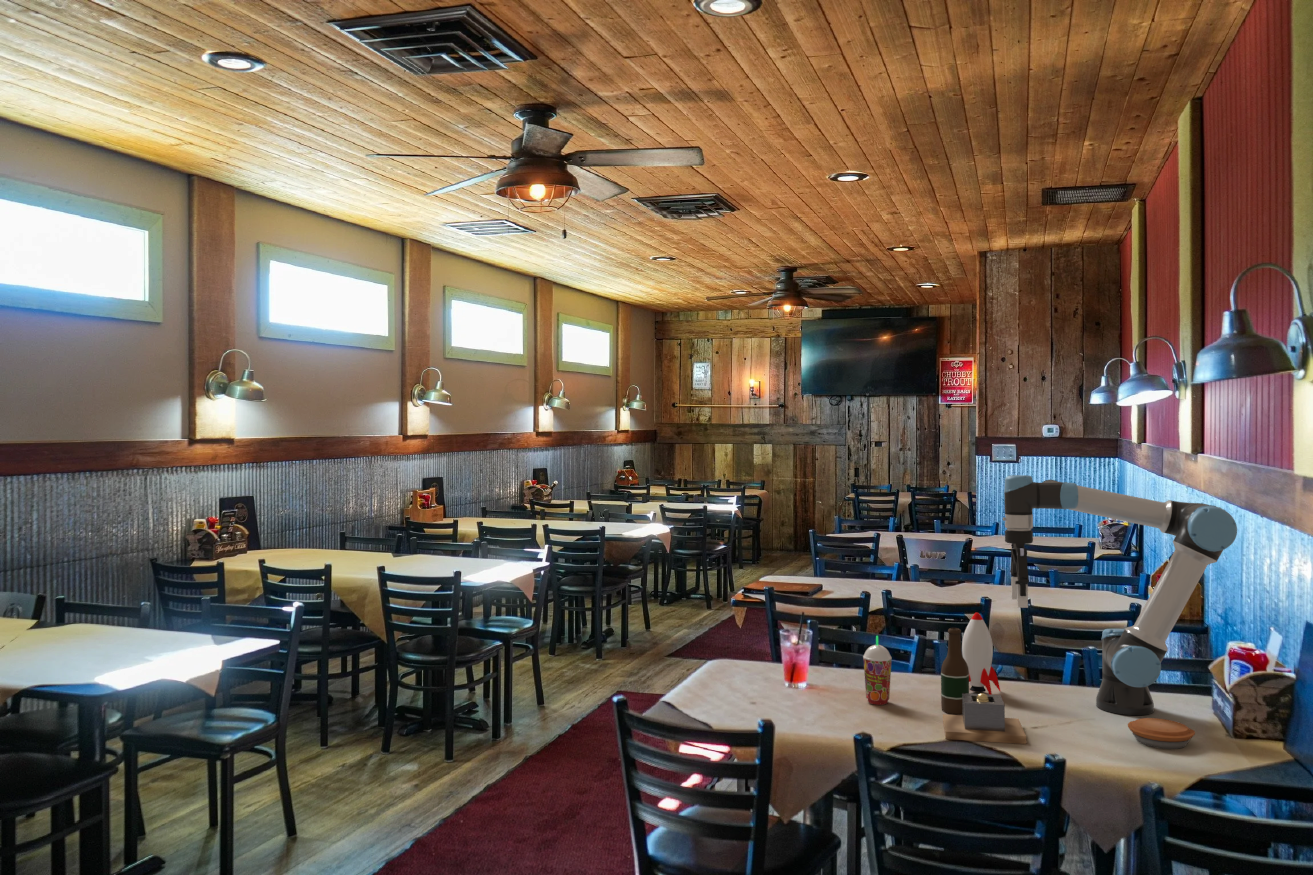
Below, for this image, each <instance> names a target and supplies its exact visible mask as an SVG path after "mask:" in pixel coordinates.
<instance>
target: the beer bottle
mask: <svg viewBox="0 0 1313 875" xmlns="http://www.w3.org/2000/svg"><path fill="white" fill-rule="evenodd" d="M947 633H948V640H947V641H948V642H947V644H948V645H947V647H948V648H947V654H946V657H945V658H944V660H943V661H942V664H941V668H940V669H941V670H940V698H941V699H940V701H941V703H940V704H941V711H942V712H944V714H945V713H946V715H962V693H970V684H969V669H968V665H967V663H966V661H965V660H964V658H963V654H962V641H961V633H962V630H961V629H960V628H959V627H950V628H948V630H947Z"/></svg>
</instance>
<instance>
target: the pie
mask: <svg viewBox="0 0 1313 875" xmlns="http://www.w3.org/2000/svg"><path fill="white" fill-rule="evenodd" d="M1127 727H1128V729H1129V730H1130V731H1131V732H1132V735H1133V737H1134V738H1135V740H1136V741H1137V742H1138V743H1140V744H1142V745H1143V746H1144V745H1145V746H1148V747H1151V748H1156V749H1163V750H1164V749H1165V750H1178V749H1182V748H1184V747H1186V746H1187V744H1188V743H1189V742H1190V741H1191V739H1192V738H1193V737H1194V736H1195V735H1196V731H1195V730H1194V729H1192V728H1189V727H1188V726H1187V725H1186V724H1183V723H1182V722H1178V721H1174V720H1170V719H1167V718H1166V719H1164V718H1155V717H1144V718H1137V719H1135V720H1133V721H1129V722H1128V723H1127Z"/></svg>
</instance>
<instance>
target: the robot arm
mask: <svg viewBox="0 0 1313 875" xmlns="http://www.w3.org/2000/svg"><path fill="white" fill-rule="evenodd" d="M1003 489H1004V491H1003V493H1004V496H1003V497H1004V516H1005V517H1002V521H1003V522H1004V527H1005V528H1006V529H1005V531H1004V541H1005V543H1007V544H1011V548H1010V549H1011V550H1010V554H1011V556H1010V571H1009V572H1010V576H1011V577H1010V578H1011V579H1010V580H1011V582H1010V583H1011V588H1010V589H1011V600H1017V601H1016V603H1017V604H1016V606H1017V608H1022V609H1024V608H1026V609H1028V608H1029V602H1028V601H1029V594H1028V593H1029V587H1028V586H1029V585H1028V584H1029V583H1030V580H1029V571H1028V549H1027V548H1026V547H1025V545H1026V544H1027V545H1030V544H1033V542H1034V531H1033V530H1032V529H1034V513H1033V512H1034V511H1033V509H1038V510H1039V509H1045V510H1046V509H1048V510H1064V511H1065V510H1070V511H1075V512H1078V513H1079V512H1080V513H1085V514H1089V515H1094V516H1098V517H1104V518H1108V519H1113V520H1117V521H1123V522H1126V523H1130V524H1131V523H1132V524H1137V525H1141V526H1146V527H1151V528H1156V529H1159V531H1160V532H1161V533H1163V534H1167V535H1171V536H1174V538H1173V541H1172V543H1173V547H1174V552H1173V553H1172V555H1171V557H1170V558H1169V560H1168V562H1167V564H1166V566H1165V568H1164V570H1163V571H1162V573H1161V576H1159V577H1160V578H1159V579H1158V581H1157V583H1156V585H1155V586H1154V588H1153V590H1152V592H1151V594H1150V595H1149V597H1148V599H1147V601H1146V603H1144V604H1145V605H1144V606H1143V608H1142V610H1141V612H1140V614H1139V616H1137V618H1136V621H1135V622H1134V625H1132V626H1127V627H1125V628H1105V629H1104V630H1102V633H1101V634H1102V636H1101V643H1102V644H1101V646H1102V647H1101V649H1102V650H1101V651H1102V652H1101V653H1102V654H1101V655H1102V657H1101V658H1102V661H1101V662H1102V665H1101V666H1102V667H1101V668H1102V678H1101V679H1102V681H1101V684H1100V685H1099V689H1098V692H1097V694H1096V698H1095V699H1096V700H1095V705H1096V707H1097V708H1098V709H1100V710H1101V711H1105V712H1108V713H1109V712H1110V713H1112V714H1117V715H1125V716H1127V715H1128V716H1145V715H1150V714H1151V715H1152V714H1153V713H1154V712H1155V705H1154V704H1155V703H1154V700H1153V697H1152V694H1151V691H1150V689H1149V686H1150V685H1152V684H1154V683H1155V682H1156V681H1157V680H1158V679H1159V677H1160V675H1161V671H1162V670H1161V669H1162V664H1161V663H1162V661H1163V660H1164V659H1165V656H1166V655H1167V652H1168V650H1169V649H1168V646H1167V643H1166V641H1167V639H1168V637H1169V636H1170V634H1171V632H1172V630H1173V629H1174V627H1175V625H1176V623H1177V621H1178V619H1179V617H1180V616H1181V614H1182V612H1183V610H1184V608H1185V607H1186V605H1187V603H1188V602H1189V601H1190V600H1189V599H1190V598H1191V596H1192V595H1193V592H1194V591H1195V589H1196V588H1197V587H1196V586H1197V585H1198V584H1199V581H1200V580H1201V577H1203V574H1204V572H1205V570H1206V569H1207V567H1208V566H1209V565H1211V564H1214V563H1217V562H1218V560H1219V559H1220V556H1221V555H1222V553H1223V552H1224V551H1225V550H1226V549H1227V548H1229V547H1231V545H1232V544H1233V543H1234V542H1235V540H1236V538H1237V537H1238V536H1237V535H1238V525H1237V523H1236V520H1235V519H1234V517H1233V516H1232V515H1231V514H1230V512H1228V511H1227V510H1225V509H1223V508H1222V507H1221V506H1217V505H1212V504H1207V503H1203V502H1201V503H1200V502H1185V501H1184V502H1183V501H1175V500H1171V499H1168V500H1166V501H1164V502H1162V501H1157V500H1152V499H1148V498H1144V497H1138V496H1133V495H1129V494H1123V493H1117V492H1112V491H1107V490H1102V489H1098V488H1092V487H1087V486H1082V485H1077V483H1075V482H1067V481H1064V482H1063V481H1057V480H1054V479H1045V480H1043V481H1042V482H1036V481H1034V480H1033V477H1032V476H1031V475H1023V474H1020V475H1019V474H1017V475H1016V474H1013V475H1007V476H1006V477H1005V479H1004V488H1003Z"/></svg>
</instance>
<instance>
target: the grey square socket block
mask: <svg viewBox="0 0 1313 875" xmlns="http://www.w3.org/2000/svg"><path fill="white" fill-rule="evenodd" d="M978 694H979V693H971V692H969V693H962V715H963V723H964V727H965V729H968V730H985V731H1001V732H1005V718H1006V716H1005V715H1006V714H1005V712H1006V711H1005V703H1004V700H1003V698H1002V695H1001V694H992V695H989V693H988V694H987V693H985V694H986V695H987V696H988V702H979V701H977V696H978Z"/></svg>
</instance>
